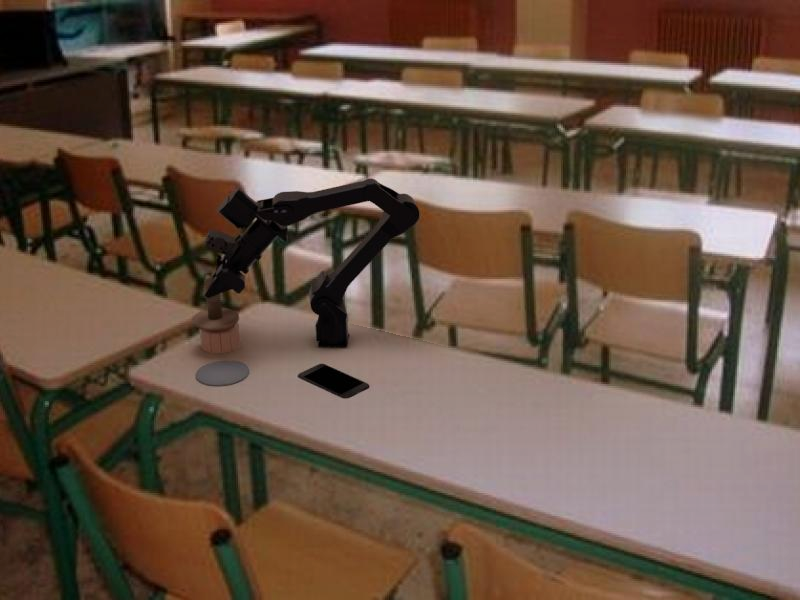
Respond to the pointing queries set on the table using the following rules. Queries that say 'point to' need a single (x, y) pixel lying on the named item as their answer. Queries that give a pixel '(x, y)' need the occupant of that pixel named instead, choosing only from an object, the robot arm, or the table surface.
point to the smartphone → (333, 381)
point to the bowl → (220, 339)
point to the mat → (222, 373)
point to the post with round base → (214, 313)
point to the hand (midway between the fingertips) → (206, 293)
